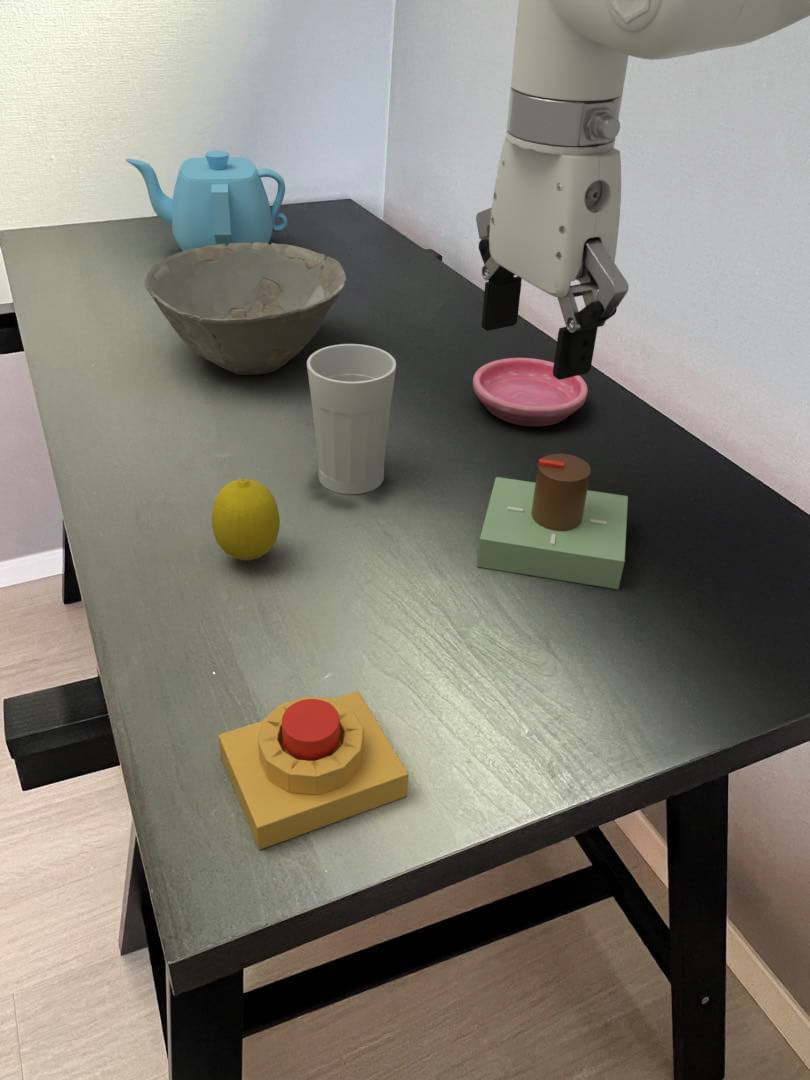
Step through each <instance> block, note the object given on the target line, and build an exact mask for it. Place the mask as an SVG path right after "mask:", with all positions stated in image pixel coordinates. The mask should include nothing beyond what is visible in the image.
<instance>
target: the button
mask: <svg viewBox="0 0 810 1080" xmlns="http://www.w3.org/2000/svg"><path fill="white" fill-rule="evenodd" d="M282 737H283V744H284V747H285V749H286V750H287V751H288V752H289V753H290V754H291V755H293V756H294V757H296V758H299V759H303V760H317V759H321V758H324V757H326V756H328V755H330V754H331V753H332V752H333V751H334V750H335V749H336V748H337V746H338V744H339V741H340V717H339V714H338V712H337V710H336V709H335V708H334V707H333V706H332V705H331V704H329V703H328V702H326V701H323V700H319V699H305V700H301V701H298V702H296V703H294V704H292V705H291V706H290V707H288V708H287V709H286V711H285V712H284V714H283V717H282Z"/></svg>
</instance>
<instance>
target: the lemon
mask: <svg viewBox="0 0 810 1080" xmlns="http://www.w3.org/2000/svg"><path fill="white" fill-rule="evenodd" d="M280 519H281V518H280V512H279V508H278V504H277V501H276V499H275V496H274V495H273V493H272V492H271V490H270V489H269V488H268V487H266V486H265V485H264V484H263V483H261V482H259V481H257V480H254V479H250V478H239V479H235V480H233V481H230V482H228V483H227V484H226V485H224V486H223V487H222V488H221V489H220V490H219V491H218V493H217V495H216V496H215V498H214V501H213V505H212V510H211V527H212V528H211V529H212V532H213V535H214V536H213V537H214V538H215V541H216V543H217V544H218V546H219V547H220V549H221V550H222V551H223V552H224V553H226V555H228V556H230V557H232V558H234V559H237V560H241V561H252V560H256V559H259V558H261V557H263V556H264V555H266V554H267V553H268V552H269V551H270V550H271V549H272V548H273V546H274V545H275V544H276V542H277V540H278V537H279V536H278V535H279V532H280V525H281V520H280Z"/></svg>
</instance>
